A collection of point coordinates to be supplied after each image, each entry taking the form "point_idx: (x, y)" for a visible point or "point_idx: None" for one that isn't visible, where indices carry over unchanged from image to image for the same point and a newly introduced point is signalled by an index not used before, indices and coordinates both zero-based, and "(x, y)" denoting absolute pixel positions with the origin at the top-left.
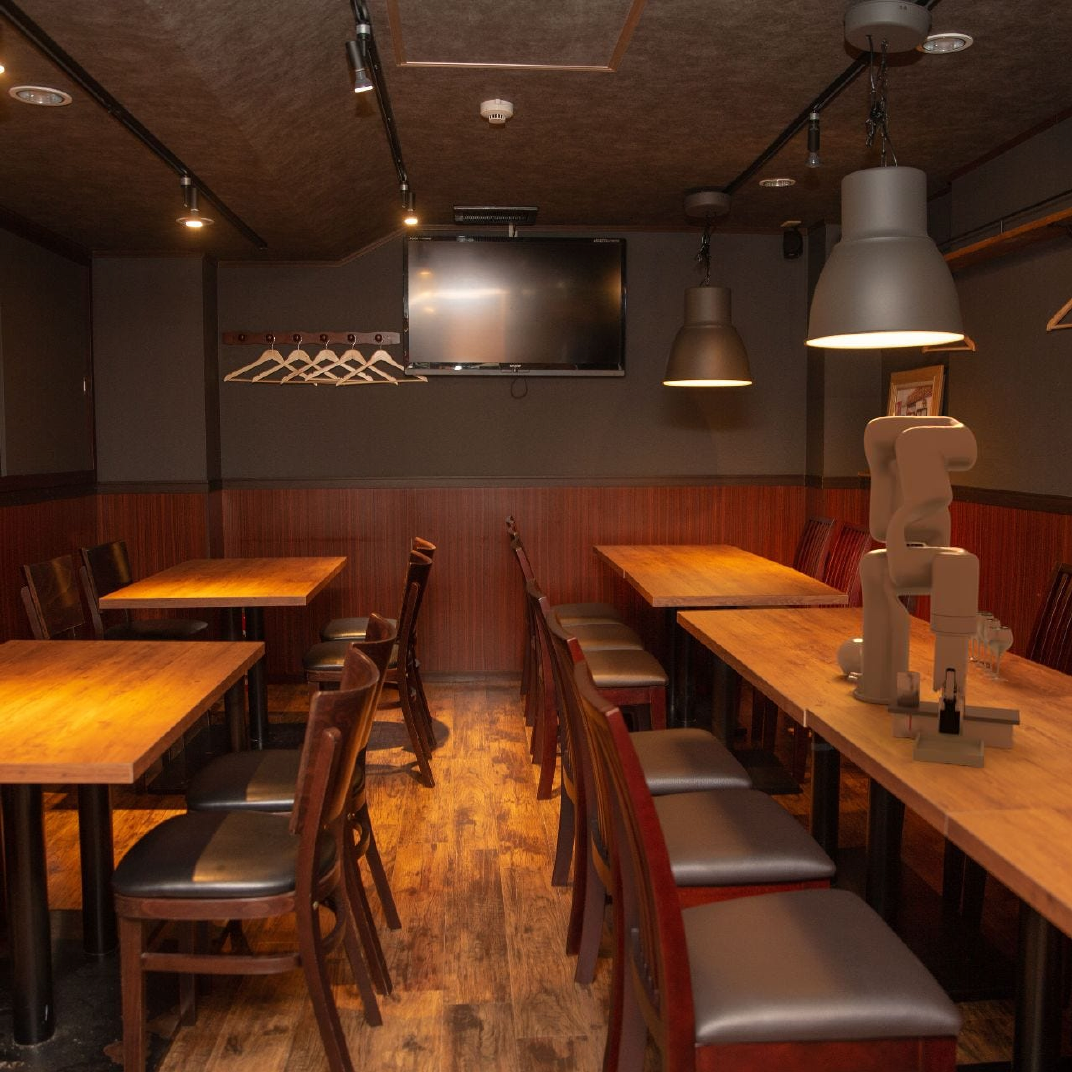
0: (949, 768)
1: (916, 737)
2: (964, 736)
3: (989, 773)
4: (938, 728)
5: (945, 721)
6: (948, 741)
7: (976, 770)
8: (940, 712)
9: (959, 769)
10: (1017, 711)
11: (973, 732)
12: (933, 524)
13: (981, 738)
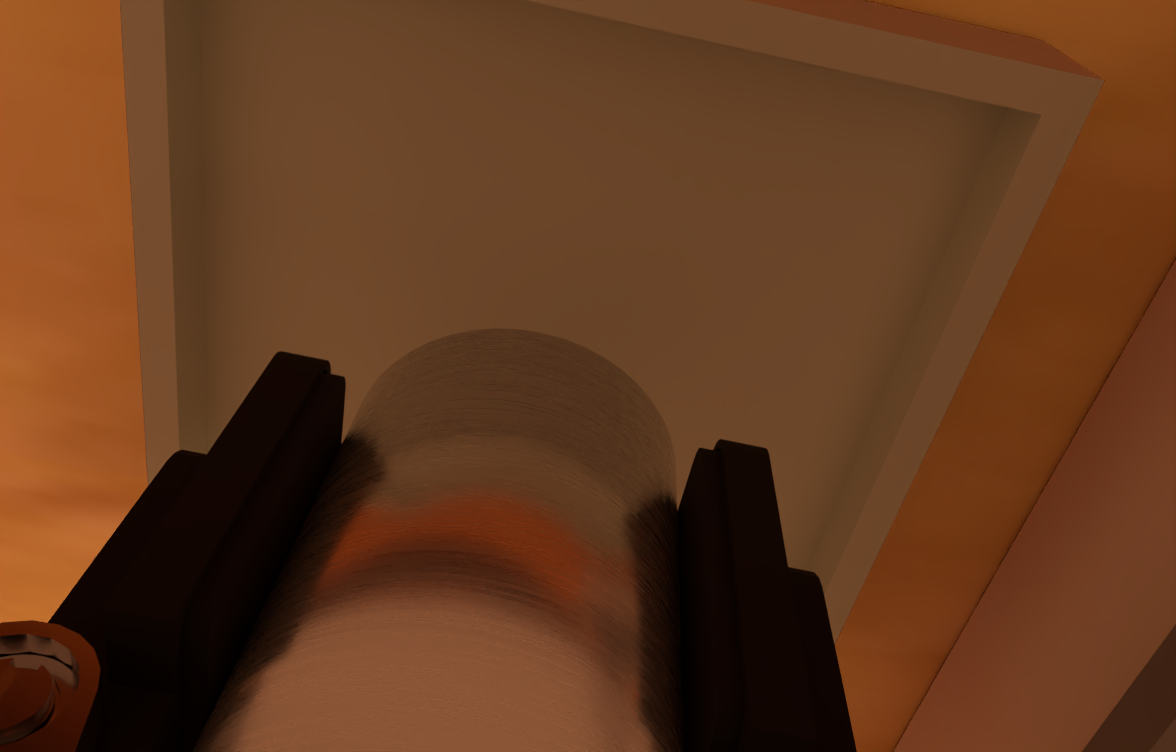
0: (41, 241)
1: (793, 14)
2: (1043, 588)
3: (62, 531)
4: (461, 370)
5: (129, 531)
6: (881, 406)
7: (102, 457)
8: (137, 576)
9: (56, 327)
10: None
11: (1026, 692)
12: None
13: (973, 700)
